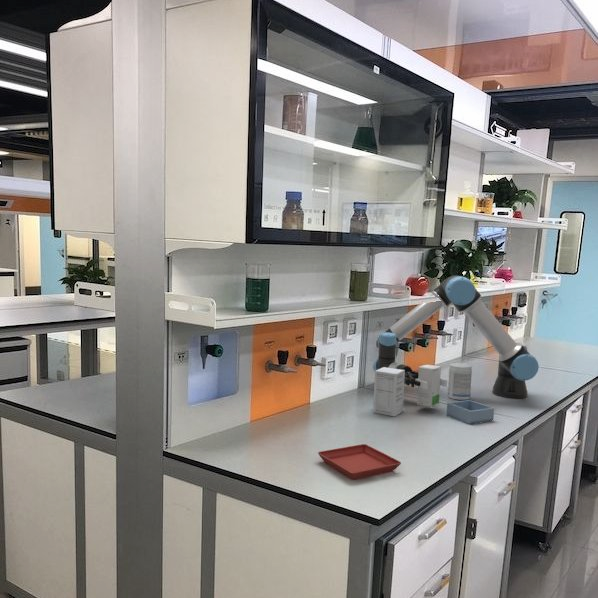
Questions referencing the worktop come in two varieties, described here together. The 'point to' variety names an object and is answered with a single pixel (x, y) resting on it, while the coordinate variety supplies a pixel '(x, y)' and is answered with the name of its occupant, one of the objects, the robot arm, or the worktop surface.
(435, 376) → the skincare box
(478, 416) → the crate
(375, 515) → the worktop surface
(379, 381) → the supplement box
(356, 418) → the worktop surface
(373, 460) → the plant saucer
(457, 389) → the supplement tub
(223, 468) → the worktop surface
